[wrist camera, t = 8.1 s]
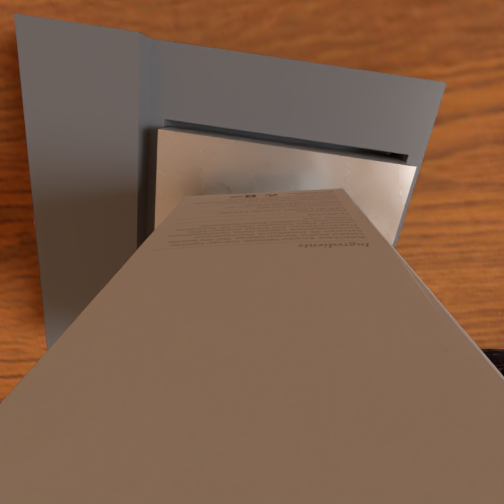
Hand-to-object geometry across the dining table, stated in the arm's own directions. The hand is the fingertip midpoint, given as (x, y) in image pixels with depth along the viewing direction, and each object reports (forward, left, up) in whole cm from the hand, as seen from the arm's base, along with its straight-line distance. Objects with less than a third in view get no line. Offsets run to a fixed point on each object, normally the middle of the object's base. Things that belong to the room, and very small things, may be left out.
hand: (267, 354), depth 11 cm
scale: (0, -3, -12) cm, 12 cm away
